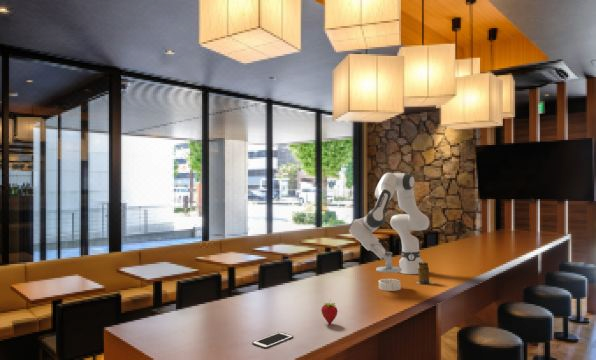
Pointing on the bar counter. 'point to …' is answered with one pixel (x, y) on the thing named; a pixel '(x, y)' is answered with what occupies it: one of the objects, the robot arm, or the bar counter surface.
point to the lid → (388, 266)
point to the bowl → (389, 284)
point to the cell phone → (272, 340)
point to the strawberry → (329, 312)
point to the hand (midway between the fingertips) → (389, 260)
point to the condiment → (423, 273)
